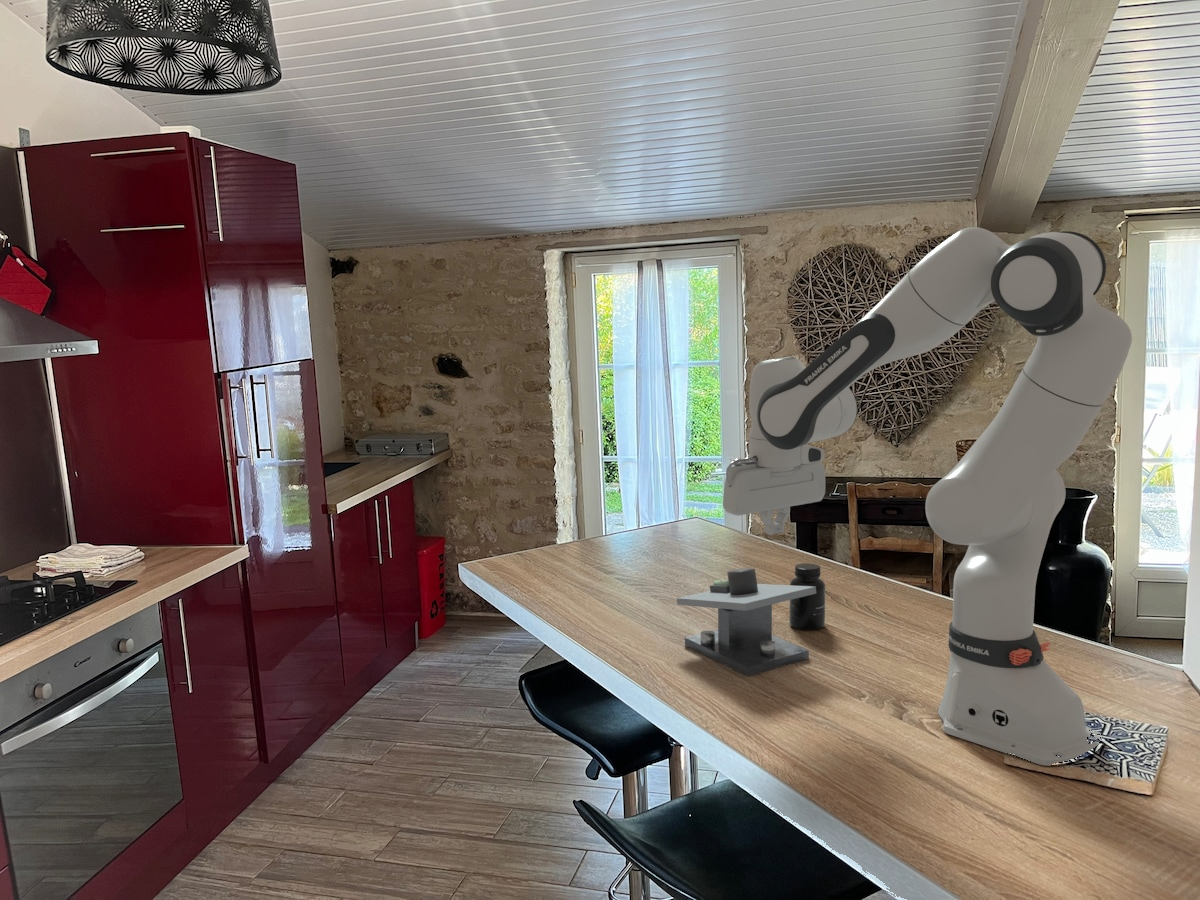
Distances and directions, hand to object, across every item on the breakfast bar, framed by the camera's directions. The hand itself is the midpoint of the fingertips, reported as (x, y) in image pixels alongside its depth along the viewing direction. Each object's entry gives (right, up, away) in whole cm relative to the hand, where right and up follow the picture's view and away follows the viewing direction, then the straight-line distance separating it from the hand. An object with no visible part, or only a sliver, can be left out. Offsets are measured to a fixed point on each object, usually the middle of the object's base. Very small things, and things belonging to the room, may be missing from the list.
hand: (774, 533), depth 159 cm
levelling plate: (-4, -13, +9) cm, 16 cm away
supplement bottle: (+11, -20, +23) cm, 33 cm away
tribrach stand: (-3, -23, +10) cm, 25 cm away
